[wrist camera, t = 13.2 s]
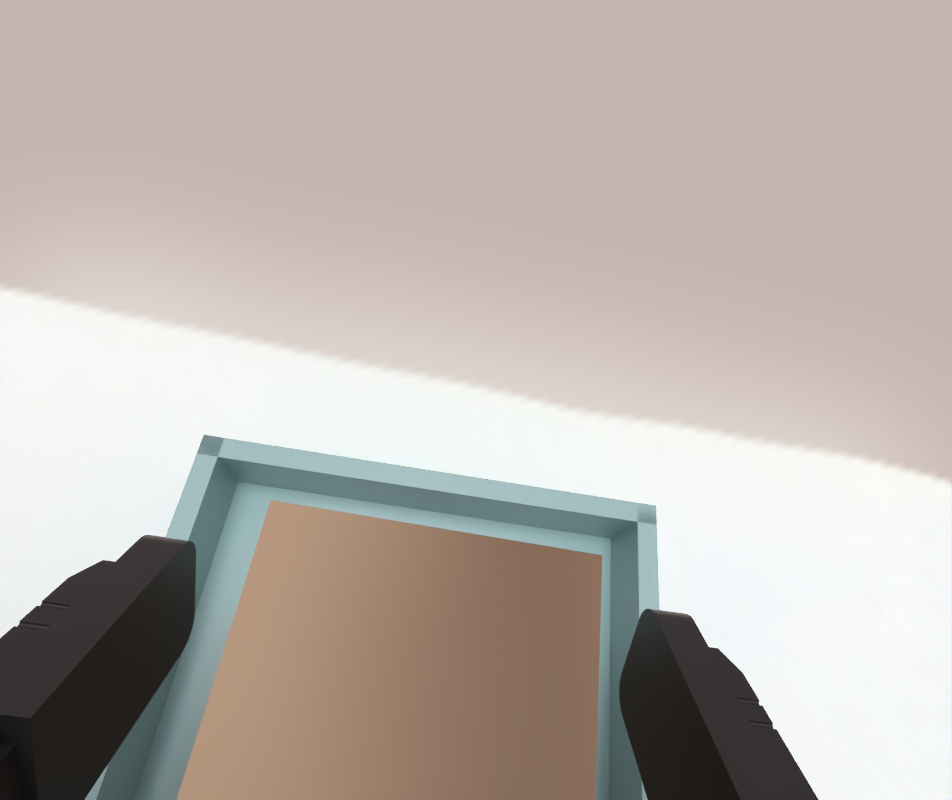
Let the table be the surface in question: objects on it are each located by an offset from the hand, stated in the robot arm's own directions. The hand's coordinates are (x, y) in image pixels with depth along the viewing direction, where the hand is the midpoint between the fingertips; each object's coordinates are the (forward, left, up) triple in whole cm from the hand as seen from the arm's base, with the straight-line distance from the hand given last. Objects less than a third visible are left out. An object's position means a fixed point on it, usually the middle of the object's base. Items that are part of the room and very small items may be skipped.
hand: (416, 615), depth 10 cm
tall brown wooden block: (0, -1, -8) cm, 8 cm away
